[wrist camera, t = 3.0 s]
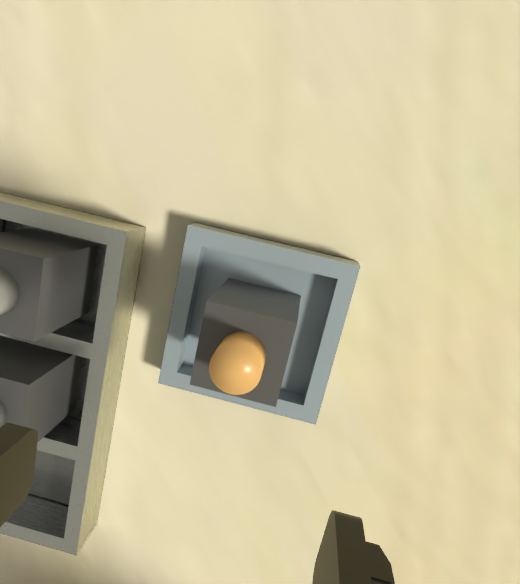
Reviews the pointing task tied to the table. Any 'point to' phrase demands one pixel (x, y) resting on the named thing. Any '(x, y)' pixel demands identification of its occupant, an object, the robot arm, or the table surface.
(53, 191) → the table surface
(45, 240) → the twin plug
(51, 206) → the strip
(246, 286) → the plug
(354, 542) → the robot arm
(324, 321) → the tray
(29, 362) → the twin plug
